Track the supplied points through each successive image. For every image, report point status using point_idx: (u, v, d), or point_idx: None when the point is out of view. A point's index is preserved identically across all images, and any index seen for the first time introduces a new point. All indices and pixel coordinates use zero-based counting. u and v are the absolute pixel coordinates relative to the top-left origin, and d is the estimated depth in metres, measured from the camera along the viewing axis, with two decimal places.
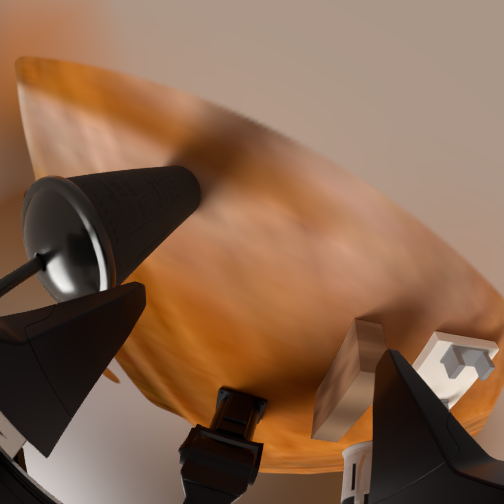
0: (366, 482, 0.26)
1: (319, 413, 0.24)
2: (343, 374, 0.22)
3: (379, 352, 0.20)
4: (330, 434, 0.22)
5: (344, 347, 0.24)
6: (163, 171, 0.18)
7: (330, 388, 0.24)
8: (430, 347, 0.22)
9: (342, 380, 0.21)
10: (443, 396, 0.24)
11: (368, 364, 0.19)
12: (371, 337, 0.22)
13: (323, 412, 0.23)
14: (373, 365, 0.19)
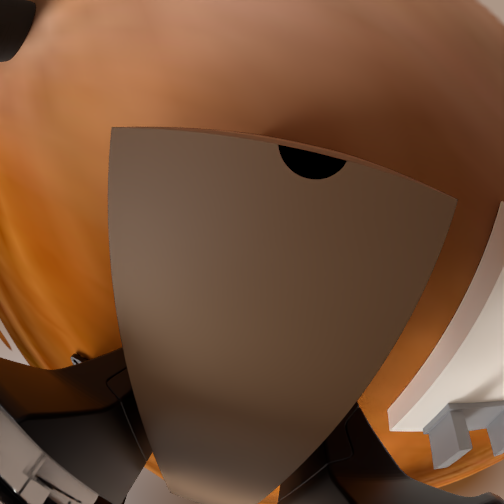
0: None
1: None
2: None
3: (330, 151, 0.04)
4: (209, 499, 0.06)
5: None
6: None
7: None
8: (503, 244, 0.06)
9: None
10: None
11: (221, 131, 0.03)
12: (301, 143, 0.06)
13: None
14: (264, 139, 0.03)
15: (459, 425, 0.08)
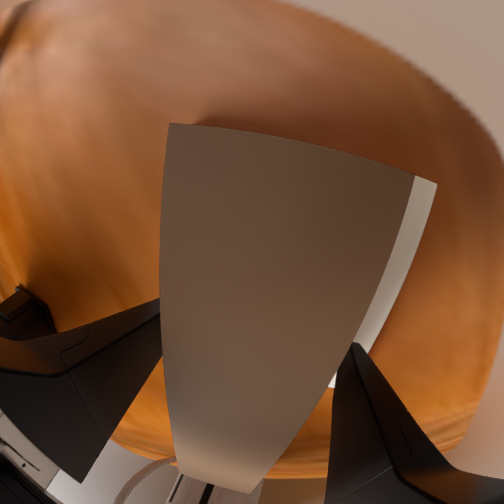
0: (190, 497, 0.14)
1: None
2: None
3: (328, 147, 0.05)
4: (218, 476, 0.07)
5: None
6: None
7: None
8: None
9: None
10: None
11: None
12: None
13: None
14: None
15: None
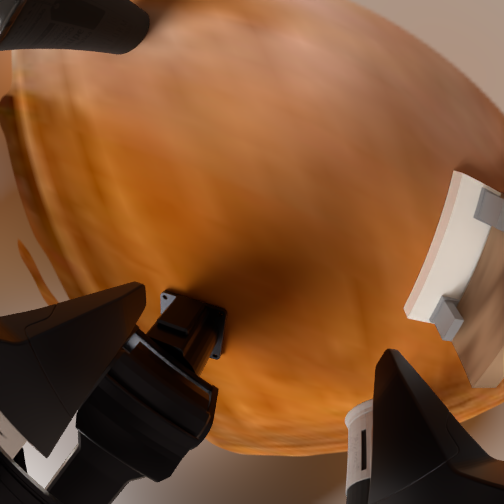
0: None
1: (478, 344, 0.13)
2: None
3: None
4: (498, 371, 0.11)
5: (498, 233, 0.13)
6: None
7: (494, 296, 0.12)
8: (454, 190, 0.15)
9: None
10: None
11: None
12: None
13: (492, 334, 0.12)
14: None
15: (452, 308, 0.16)
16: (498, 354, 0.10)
